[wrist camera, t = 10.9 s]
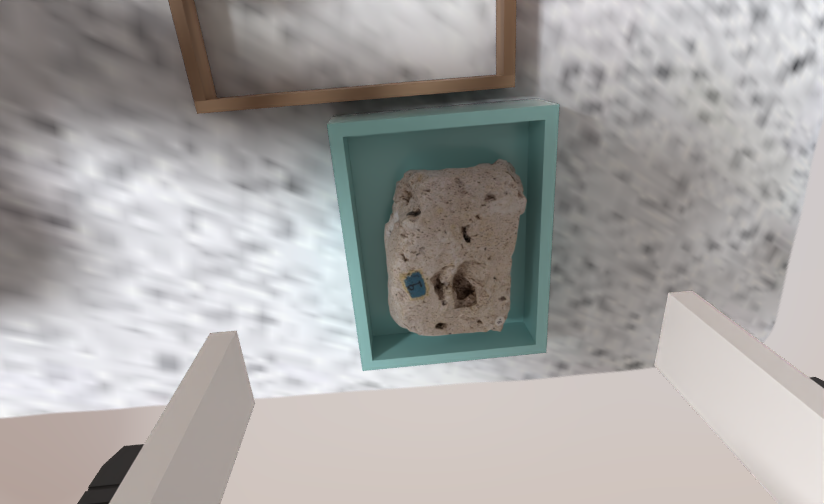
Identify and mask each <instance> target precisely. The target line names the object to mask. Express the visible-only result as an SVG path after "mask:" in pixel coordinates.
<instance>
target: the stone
mask: <svg viewBox="0 0 824 504" xmlns="http://www.w3.org/2000/svg"><path fill="white" fill-rule="evenodd" d="M523 192H524V190H523V185H522V182H521V179H520V176H518V175H517V174H516V172H515V168H514V167H513V165H512V164H511V163H510V162H507V160H503V159H498V160H497V161H495V162H494V163H493V164H490V163H482V164H478V165H476V166H473V167H468V168H446V169H442V170H425V169H423V170H408V171H407V172H406V173H404V176H403V178H402V179H401V180H400V181H397V182H396V188H395V194H394V196H393V200H394V203H393V205H392V214H390V219H389V222H388V223H386V224H385V230H384V243H385V251H386V264H387V273H388V305H389V312H390V315H391V317H392V318H393V319H394V321H395V322H396V323H397V324H398V325H399V326H400V327H403V328H407V329H408V330H409V331H410V332H414V333H417V334H418V335H422V336H441V335H450V334H461V333H474V332H487V331H489V330H490V329H491V330H493V331H499V332H501V330H502V329H503V324H504V322H505V320H506V319H507V317H508V312H509V310H510V302H511V301H510V287H511V275H510V272H511V266H512V258H511V256H512V254H513V252H514V249H515V244H516V240H517V232H518V225H519V219H520V215H521V214H523V213H524V211H525V207H526V203H527V199H526V197H525V196H524V194H523Z"/></svg>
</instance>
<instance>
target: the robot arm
mask: <svg viewBox="0 0 824 504" xmlns="http://www.w3.org/2000/svg"><path fill="white" fill-rule="evenodd" d="M654 366H655V367H656V368H657V369H658V370H659V371H660V373H661V374H662V375H663V376H664V377H665V378H666V379H667V380H668V381H669V383H670V384H671V385H672V386H673V387H674V388H675V389H676V390H677V392H678V393H679V394H680V395H681V396H682V397H683V398H684V399H685V400H686V402H687V403H688V404H689V405H690V406H691V407H692V408H693V409H694V411H696V413H697V414H698V415H699V416H700V417H701V418H702V419H703V421H704V422H705V423H706V424H707V425H708V426H709V427H710V428H711V429H712V431H713V432H714V433H715V434H716V435H717V436H718V437H719V438H720V440H721V441H722V442H723V443H724V444H725V445H726V446H727V447H728V449H729V450H730V451H731V452H732V453H733V454H734V455H735V456H736V457H737V459H738V460H739V461H740V462H741V463H742V464H743V465H744V466H745V468H746V469H747V470H748V471H749V472H750V473H751V474H752V475H753V476H754V477H755V479H756V480H757V481H758V482H759V483H760V484H761V485H762V486H763V488H764V489H765V490H766V491H767V492H768V493H769V494H770V495H771V497H772V498H773V499H774V500H775V501H776V502H777V503H778V504H824V381H822V380H821V379H819V378H816V377H811V378H809V377H808V376H806V375H805V374H804V373H802V372H801V371H799V370H798V369H797V368H795V367H794V366H793V365H791V364H790V363H789V362H787V361H786V360H785V359H783V358H782V357H781V356H779V355H778V354H777V353H775V352H774V351H773V350H771V349H770V348H769V347H767V346H766V345H765V344H763V343H762V342H761V341H759V340H758V339H757V338H755V337H754V336H753V335H751V334H750V333H749V332H747V331H746V330H745V329H743V328H742V327H741V326H739V325H738V324H737V323H735V322H734V321H733V320H731V319H730V318H729V317H727V316H726V315H725V314H723V313H722V312H721V311H719V310H718V309H716V308H715V307H714V306H712V305H711V304H710V303H708V302H707V301H706V300H704V299H703V298H702V297H700V296H699V295H698V294H696V293H695V292H694V291H682V292H671V293H668V297H667V302H666V307H665V313H664V318H663V323H662V328H661V333H660V338H659V343H658V348H657V354H656V359H655V364H654ZM254 405H255V402H254V398H253V394H252V390H251V386H250V382H249V378H248V374H247V370H246V366H245V362H244V358H243V354H242V350H241V346H240V342H239V338H238V335H237V331H228V332H216V333H210V334H209V336H208V338H207V339H206V341H205V343H204V344H203V346H202V348H201V349H200V351H199V353H198V354H197V356H196V358H195V359H194V361H193V363H192V365H191V366H190V368H189V370H188V371H187V373H186V375H185V376H184V378H183V380H182V381H181V383H180V385H179V386H178V388H177V390H176V391H175V393H174V395H173V397H172V398H171V400H170V402H169V403H168V405H167V407H166V408H165V410H164V412H163V413H162V415H161V417H160V418H159V420H158V422H157V424H156V425H155V427H154V429H153V430H152V432H151V434H150V436H149V437H148V439H147V440H146V442H145V444H142V445H131V446H124V447H123V448H121V449H120V450H119V451H118V452H117V453H116V454H115V455H114V456H113V457H112V458H110V459H109V460H108V461H107V462H106V463H105V464H104V465H103V466H102V467H101V469H100V470H99V472H98V473H97V475H96V476H95V478H94V479H93V481H92V482H91V484H90V485H89V487H88V488H89V489H88V491H86V492H85V493H84V495H83V496H82V498H81V499H80V501H79V502H78V503H77V504H220V503H221V500H222V497H223V494H224V491H225V488H226V485H227V483H228V480H229V477H230V474H231V471H232V468H233V465H234V462H235V460H236V457H237V453H238V451H239V448H240V445H241V442H242V439H243V436H244V434H245V431H246V427H247V425H248V422H249V419H250V416H251V413H252V410H253V408H254Z"/></svg>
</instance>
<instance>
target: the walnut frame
mask: <svg viewBox="0 0 824 504" xmlns="http://www.w3.org/2000/svg"><path fill="white" fill-rule="evenodd" d="M168 1H169V5H170V9H171V13H172V17H173V21H174V25H175V29H176V33H177V37H178V41H179V45H180V49H181V52H182V56H183V60H184V64H185V68H186V72H187V76H188V80H189V84H190V88H191V92H192V96H193V100H194V104H195V107H196V111H197V114H199V113H211V112H223V111H235V110H247V109H259V108H271V107H283V106H295V105H307V104H319V103H331V102H343V101H355V100H367V99H379V98H390V97H402V96H414V95H426V94H438V93H450V92H462V91H474V90H486V89H498V88H510V87H515V54H516V0H496V75H486V76H474V77H461V78H449V79H437V80H425V81H413V82H401V83H389V84H377V85H365V86H353V87H341V88H329V89H317V90H305V91H293V92H280V93H268V94H256V95H244V96H232V97H220V98H217V96H216V92H215V87H214V83H213V79H212V75H211V70H210V66H209V62H208V58H207V53H206V49H205V45H204V40H203V36H202V32H201V28H200V23H199V19H198V15H197V11H196V6H195V2H194V0H168Z"/></svg>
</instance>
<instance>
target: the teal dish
mask: <svg viewBox="0 0 824 504" xmlns="http://www.w3.org/2000/svg"><path fill="white" fill-rule="evenodd" d="M558 122H559V104H556V103H553V102H549V101H545V100H542V99H526V100H514V101H502V102H490V103H479V104H467V105H455V106H443V107H431V108H419V109H408V110H396V111H384V112H372V113H360V114H348V115H337V116H333V117H332V118H331V120H330V121H329V122H328V123H327V129H328V136H329V143H330V150H331V157H332V163H333V170H334V177H335V184H336V191H337V198H338V205H339V211H340V218H341V225H342V232H343V239H344V246H345V253H346V260H347V266H348V273H349V280H350V287H351V294H352V301H353V308H354V315H355V321H356V328H357V335H358V342H359V349H360V356H361V363H362V370H363V371H367V370H377V369H387V368H397V367H407V366H417V365H427V364H437V363H447V362H457V361H467V360H477V359H487V358H497V357H507V356H517V355H528V354H538V353H546V347H547V328H548V309H549V290H550V272H551V253H552V234H553V216H554V197H555V178H556V159H557V141H558ZM498 159H503V160H507V162H510V163H511V164H512V165H513V167H514V168H515V172H516V174H517V175H518V176H520V179H521V182H522V185H523V190H524V192H523V194H524V196H525V197H526V199H527V203H526V207H525V211H524V213H523V214H521V215H520V219H519V225H518V232H517V240H516V244H515V249H514V252H513V254H512V256H511V258H512V266H511V272H510V275H511V287H510V301H511V302H510V310H509V312H508V317H507V319H506V320H505V322H504V324H503V329H502V330H501V332H499V331H493V330H491V329H490V330H489V331H487V332H474V333H461V334H450V335H441V336H422V335H418V334H417V333H414V332H410V331H409V330H408V329H407V328H403V327H400V326H399V325H398V324H397V323H396V322H395V321H394V319H393V318H392V317H391V315H390V312H389V305H388V273H387V264H386V251H385V243H384V230H385V224H386V223H388V222H389V219H390V214H392V205H393V203H394V200H393V196H394V194H395V188H396V182H397V181H400V180H401V179H402V178H403V176H404V173H406V172H407V171H408V170H423V169H425V170H442V169H446V168H468V167H473V166H476V165H478V164H482V163H490V164H493V163H494V162H495V161H497V160H498Z"/></svg>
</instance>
